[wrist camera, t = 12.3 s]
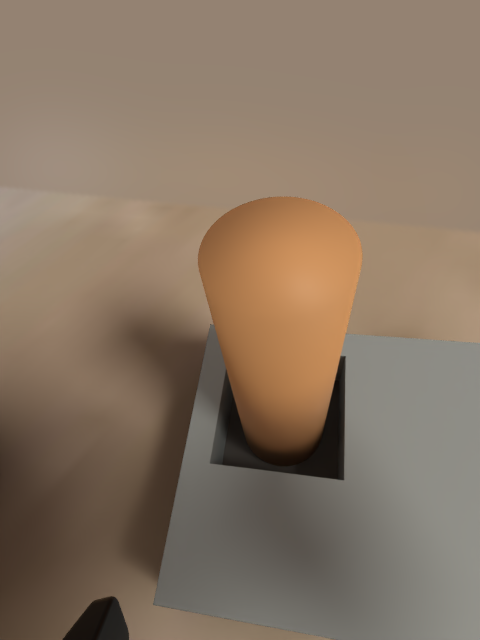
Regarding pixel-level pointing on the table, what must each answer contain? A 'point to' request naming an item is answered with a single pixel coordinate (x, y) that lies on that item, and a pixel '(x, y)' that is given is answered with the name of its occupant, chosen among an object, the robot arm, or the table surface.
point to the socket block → (339, 503)
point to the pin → (281, 316)
